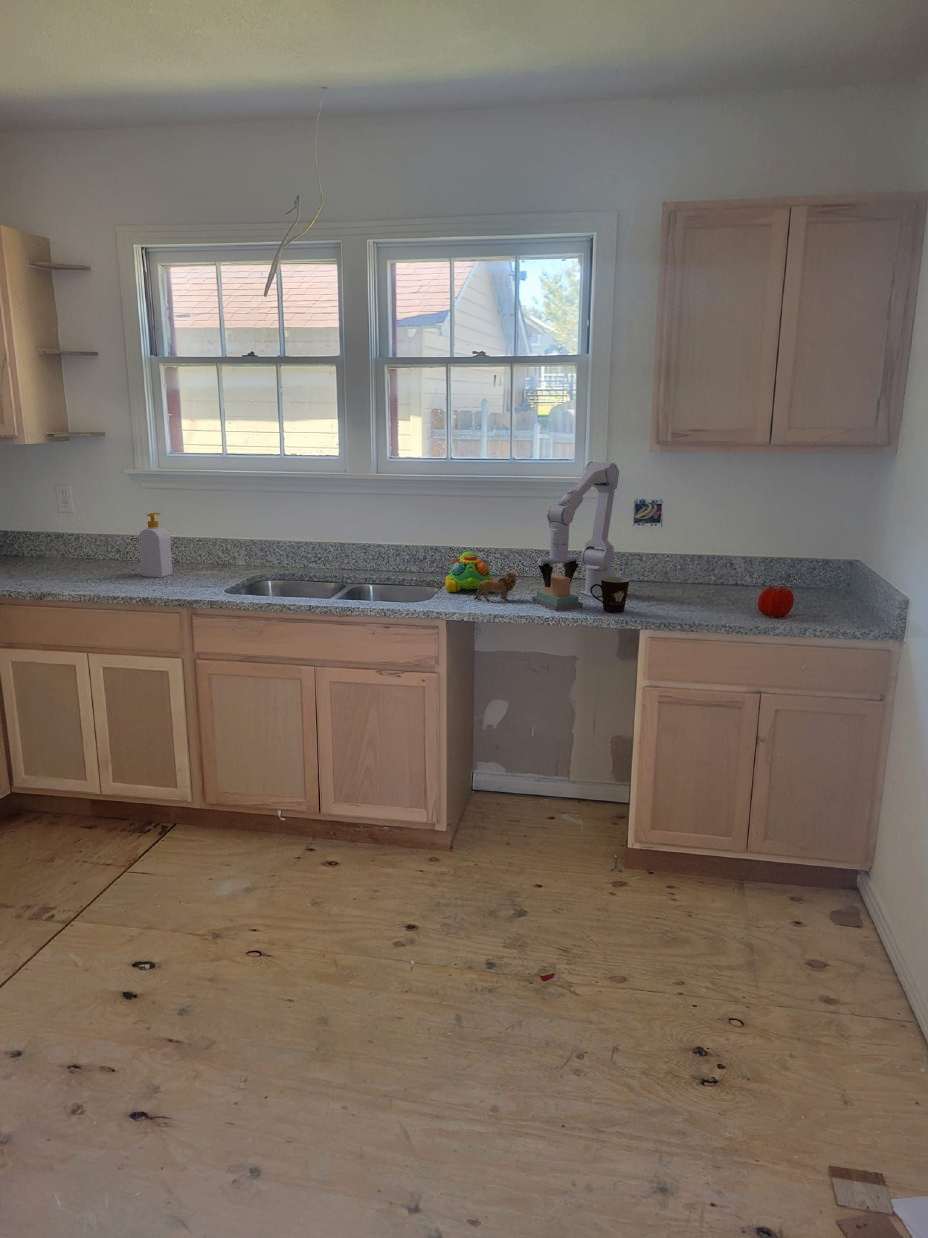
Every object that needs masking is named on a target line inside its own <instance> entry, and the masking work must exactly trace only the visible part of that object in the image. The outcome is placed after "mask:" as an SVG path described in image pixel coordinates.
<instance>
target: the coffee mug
mask: <svg viewBox="0 0 928 1238" xmlns="http://www.w3.org/2000/svg"><path fill="white" fill-rule="evenodd" d="M601 584H602V585H600V584H594V585H593V586H591V589H590V593H591V594H592V596H593V597H592V596H591V597H592V598H595V600H597V601H599V602H601V603H602V610H603V612H604V613H608V614H622V612H623V613H624V612H625V607H626V601H627V598H628V597H627V596H628V592H629V586H630V579H629V578H627V577H622V576H621V577H620V576H615V577H604V578H601ZM595 586H599V587H600V588H601V590H602V596H601V598H602V599H600V598H599V597H598V596H597V597H596V596H595V595H594V594H593V593H592V589H593V587H595Z"/></svg>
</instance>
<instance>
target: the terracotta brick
mask: <svg viewBox="0 0 928 1238" xmlns="http://www.w3.org/2000/svg"><path fill="white" fill-rule="evenodd" d="M543 588H544V590H543V591H544V592H546V593H548V594H551V595H554V596H557V597H562V596H570V594H571V584H570V578H568V577H565V575H561V574H558V573H552V575H551V586H550V587H549V588H548V587H545V586H544V587H543Z"/></svg>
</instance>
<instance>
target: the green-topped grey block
mask: <svg viewBox="0 0 928 1238" xmlns="http://www.w3.org/2000/svg"><path fill="white" fill-rule="evenodd" d="M531 599H532V600H531V601H532V602H531V603H534V604H536V605H539V606H540V607H544V606H545V607H544V608H546V607H547V608H546V609H549V610H551V609H552V610H551V611H554V610H555V612H560V611H559V610H562V611H568V610H569V611H571V610H579V609H583V605H584V604H583V602H582V601H580V600H579V596H578V595H576V594H575V595H574V594H572V593H570V596H562V597H557V596H554V595H551V594H548V593H546V592H544V590H538V591H536V595H534V596H531ZM570 609H571V610H570Z"/></svg>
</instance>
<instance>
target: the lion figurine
mask: <svg viewBox="0 0 928 1238" xmlns="http://www.w3.org/2000/svg"><path fill="white" fill-rule="evenodd" d="M516 583H517V574H516V573H515V572H510V571H509V572H507V573H506V574H505V575H504V576H502V577H501V578H500V579H498V580H493V581H490V580H484V581H482V582H481V583H480V585H479V587H478V589H477V591H476V595H475V597H474V598H472V599H473V601H476V600H481V599H482V597H480V596H481V595H482V594H483V598H484V600H485V601H486V602H491V599H489V598H488V594H489V593H490V592H489V590H491V591H493V592H492V593H500V599H501V600H504V601H505V602H509V599H508V598H507V597H508V592H512V590H513V589H514V588H515V586H516ZM480 587H481V589H480Z"/></svg>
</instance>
